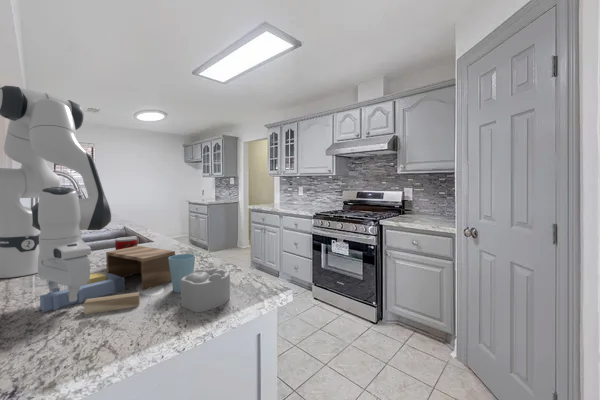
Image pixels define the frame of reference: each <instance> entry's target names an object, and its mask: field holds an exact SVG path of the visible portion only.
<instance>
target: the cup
mask: <svg viewBox="0 0 600 400" xmlns="http://www.w3.org/2000/svg"><path fill="white" fill-rule="evenodd" d="M168 260H169V266H170V273H171V280H172V281H171V286H172V291H173V293H177V294H178V293H180V294H181V279H182V278H183V277H185V276H188V275H189V274H191V273H194V272H195V261H196V255H195V254H193V253H182V254H175V255H173V256H170V257H169V258H168Z"/></svg>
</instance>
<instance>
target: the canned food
mask: <svg viewBox="0 0 600 400" xmlns="http://www.w3.org/2000/svg"><path fill="white" fill-rule="evenodd" d="M114 241H115V250H119V249H124V248H130V247H135V246H138V238H137V236H123V237H117V238H115V239H114Z"/></svg>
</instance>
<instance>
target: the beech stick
mask: <svg viewBox="0 0 600 400" xmlns="http://www.w3.org/2000/svg"><path fill="white" fill-rule="evenodd" d="M140 301H141V299H140V291H138V292H129V293H123V294H116V295H108V296H99V297H96V298H92V299H86V300H85V301H83V311H84V314H83V315H88V314H94V313H95V314H96V313H101V312H108V311H109V312H110V311H115V310H121V309H128V308H134V307H140V304H141V302H140Z"/></svg>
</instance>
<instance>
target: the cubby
mask: <svg viewBox="0 0 600 400" xmlns="http://www.w3.org/2000/svg"><path fill="white" fill-rule="evenodd" d="M105 255H106V257H105V258H106V274H109V273H111V274H114V275H117V276H119V277H122V278H126V277H129V276H133V275H136V274H137V275H138V274H141V290H142V291H146V290H149V289H153V288H155V287H158V286H162V285H165V284H168V283H172V280H171V273H170V266H169V260H168V258H169V257H170V256H173V255H176V251H175V250H170V249H163V248H155V247H148V246H143V245H137V246H135V247H130V248H124V249H119V250H116V249H114V250H109V251H106V252H105Z"/></svg>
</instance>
